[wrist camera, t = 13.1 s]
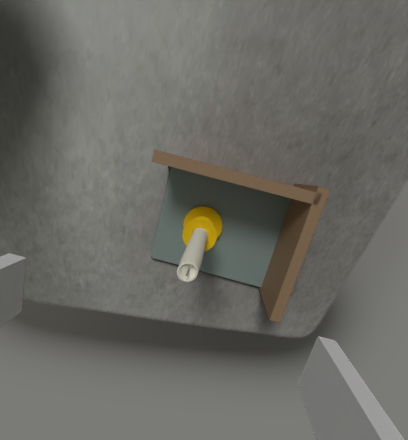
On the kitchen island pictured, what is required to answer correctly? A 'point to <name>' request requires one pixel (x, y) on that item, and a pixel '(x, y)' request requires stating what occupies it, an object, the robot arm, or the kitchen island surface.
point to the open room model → (241, 225)
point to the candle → (198, 239)
